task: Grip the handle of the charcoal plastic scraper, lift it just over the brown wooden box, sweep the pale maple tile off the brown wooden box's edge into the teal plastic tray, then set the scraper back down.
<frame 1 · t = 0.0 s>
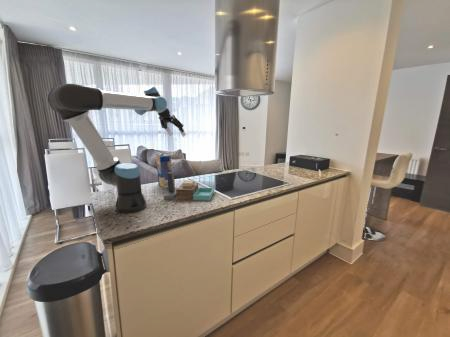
hand: (177, 135, 151), 36 cm above the worktop, tool tilted 35°, fingers open, 13 cm apart
tray: (204, 195, 130), on the worktop
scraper: (173, 195, 132), on the worktop
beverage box: (165, 185, 153), on the worktop
brown wooden box: (188, 195, 131), on the worktop
tile: (188, 186, 130), point 6 cm above the worktop, touching brown wooden box
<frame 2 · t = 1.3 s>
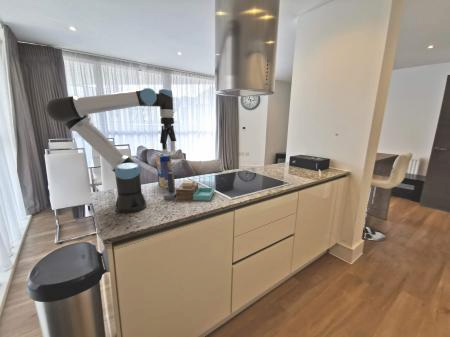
hand: (169, 153, 127), 27 cm above the worktop, tool pointing down, fingers open, 13 cm apart
nothing on the worktop moved.
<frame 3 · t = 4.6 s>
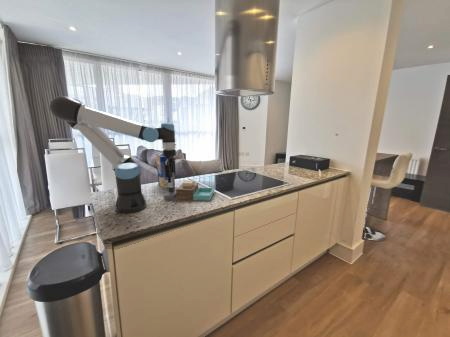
hand: (171, 186, 131), 6 cm above the worktop, tool pointing down, fingers closed on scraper, 3 cm apart
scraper: (173, 194, 132), on the worktop, touching gripper
everything else where it was.
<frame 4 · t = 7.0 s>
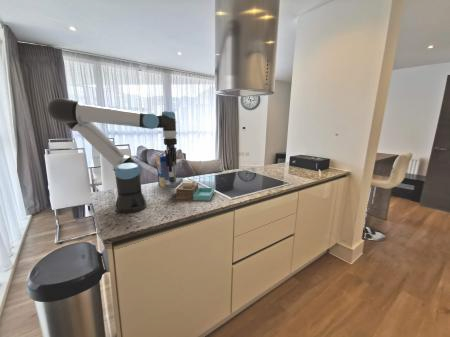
hand: (172, 175, 130), 12 cm above the worktop, tool pointing down, fingers closed on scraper, 3 cm apart
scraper: (174, 184, 131), point 7 cm above the worktop, touching gripper
everything else where it was.
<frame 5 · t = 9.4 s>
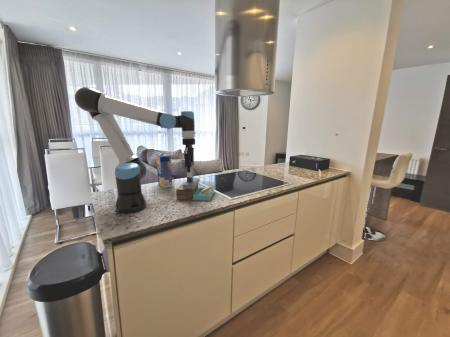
hand: (190, 176, 128), 12 cm above the worktop, tool pointing down, fingers closed on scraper, 3 cm apart
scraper: (191, 185, 129), point 7 cm above the worktop, touching gripper
tile: (205, 188, 129), point 5 cm above the worktop, tilted 152°, touching tray
everything else where it was.
when the fingers open (7 cm above the worktop, at t = 13.4 s): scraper drops 1 cm, on the worktop.
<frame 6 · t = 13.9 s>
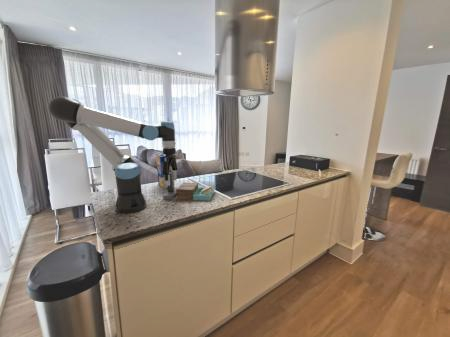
hand: (171, 182, 131), 8 cm above the worktop, tool pointing down, fingers open, 11 cm apart
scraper: (172, 195, 132), on the worktop
everything else where it was.
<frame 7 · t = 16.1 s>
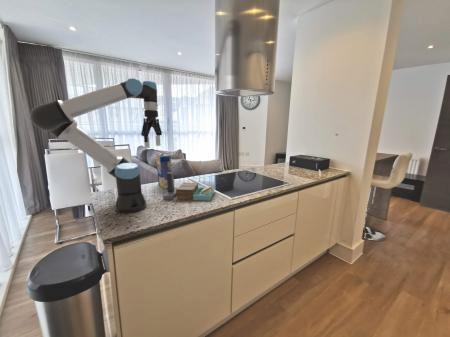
hand: (153, 146, 125), 31 cm above the worktop, tool pointing down, fingers open, 13 cm apart
nothing on the worktop moved.
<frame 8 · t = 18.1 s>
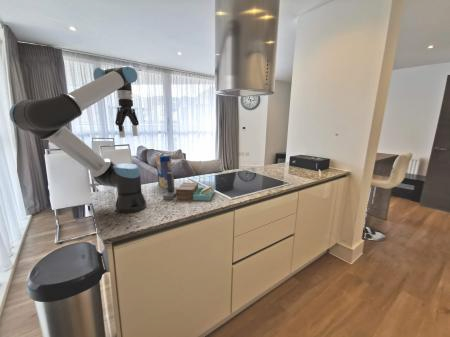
hand: (129, 136, 123), 37 cm above the worktop, tool pointing down, fingers open, 13 cm apart
nothing on the worktop moved.
at the end: tile inside the target area on the tray (1.1 cm from its centre), point 4.7 cm above the tray's base; the gripper is holding nothing; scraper tilted 0° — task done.
